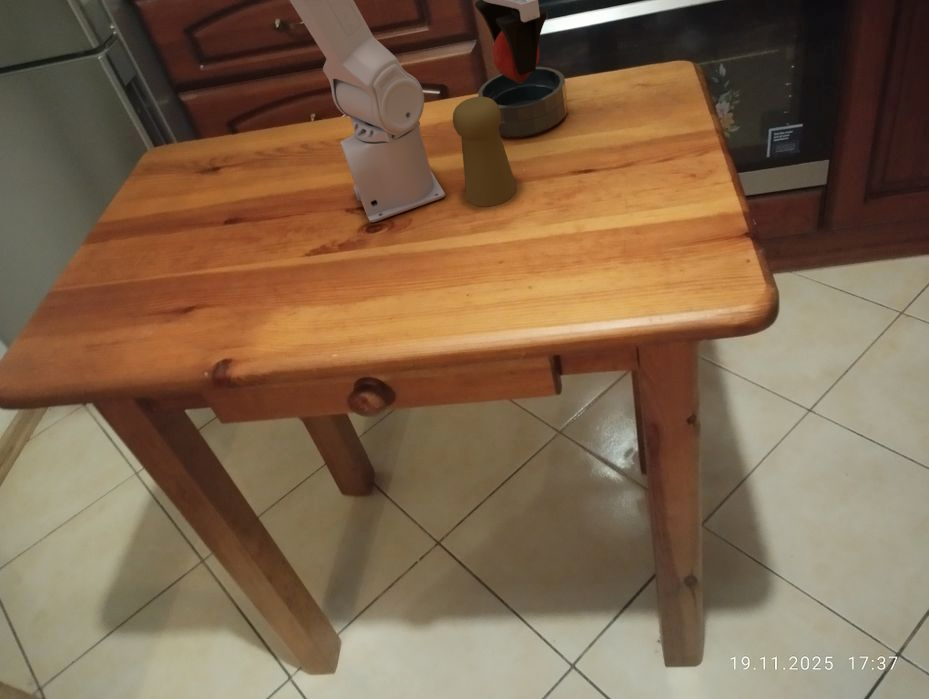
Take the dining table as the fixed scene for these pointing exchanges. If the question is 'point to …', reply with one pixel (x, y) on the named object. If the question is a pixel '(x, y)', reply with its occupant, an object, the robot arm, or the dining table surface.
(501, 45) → the onion
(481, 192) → the olive pawn
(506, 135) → the bowl
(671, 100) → the dining table surface
